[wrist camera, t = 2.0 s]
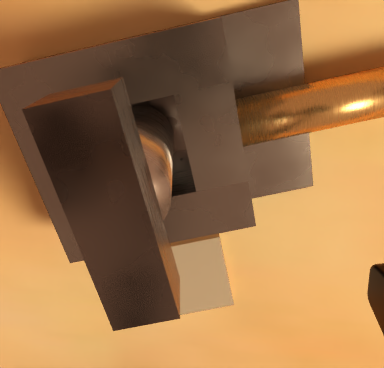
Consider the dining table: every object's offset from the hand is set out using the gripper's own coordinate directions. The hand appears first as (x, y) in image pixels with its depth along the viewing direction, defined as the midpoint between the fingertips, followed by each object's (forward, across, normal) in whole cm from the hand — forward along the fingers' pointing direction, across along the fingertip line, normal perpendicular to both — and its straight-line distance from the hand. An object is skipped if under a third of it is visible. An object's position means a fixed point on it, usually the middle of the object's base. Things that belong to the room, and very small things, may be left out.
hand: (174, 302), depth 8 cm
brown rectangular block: (+12, +2, 0) cm, 13 cm away
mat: (+13, +2, +10) cm, 16 cm away
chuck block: (+13, -3, -1) cm, 13 cm away
